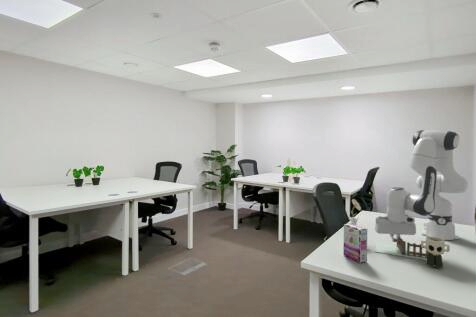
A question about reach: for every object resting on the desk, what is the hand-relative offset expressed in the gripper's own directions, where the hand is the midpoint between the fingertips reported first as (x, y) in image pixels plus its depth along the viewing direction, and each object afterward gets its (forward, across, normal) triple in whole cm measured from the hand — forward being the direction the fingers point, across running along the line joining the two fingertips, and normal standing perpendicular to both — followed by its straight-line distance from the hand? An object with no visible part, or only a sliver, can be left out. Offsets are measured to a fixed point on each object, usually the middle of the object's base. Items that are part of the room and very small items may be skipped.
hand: (394, 241), depth 149 cm
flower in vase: (+4, -18, +11) cm, 22 cm away
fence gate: (+3, +2, -3) cm, 4 cm away
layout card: (+4, +2, -4) cm, 6 cm away
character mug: (+4, +8, -22) cm, 23 cm away
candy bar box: (+5, -26, -16) cm, 31 cm away
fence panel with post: (+4, +5, -11) cm, 12 cm away
